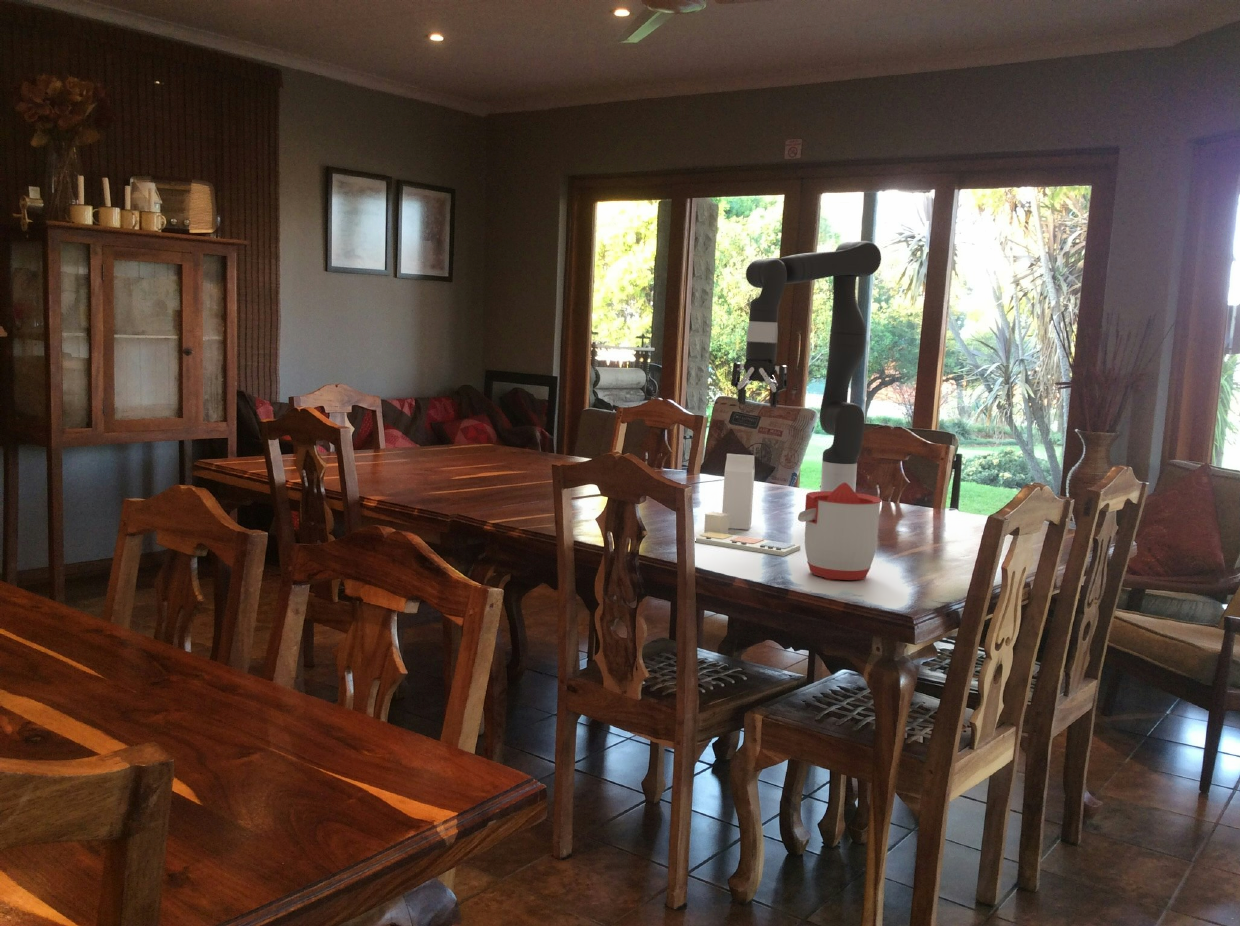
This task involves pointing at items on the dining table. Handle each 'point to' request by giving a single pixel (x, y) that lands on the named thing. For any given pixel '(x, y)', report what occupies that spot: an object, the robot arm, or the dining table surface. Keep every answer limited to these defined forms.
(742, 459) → the milk carton
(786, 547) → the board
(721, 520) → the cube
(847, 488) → the citrus juicer
